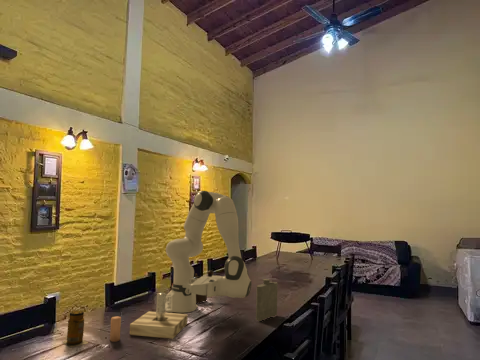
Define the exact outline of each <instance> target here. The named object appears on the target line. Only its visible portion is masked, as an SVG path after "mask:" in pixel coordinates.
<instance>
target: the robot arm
mask: <svg viewBox="0 0 480 360" xmlns="http://www.w3.org/2000/svg"><path fill="white" fill-rule="evenodd" d="M193 197H194V198H193V204H192V205H191V207H190V210H189V212H188V214H187V217H186V219H185V222H184V224H183V229H184V231H185V234H184V237H183V238H175V239H173V240H170V241H168V243H167V244H166V245H165V253H166V256H167V257H168V258H169V259H170V261H171V263H172V267H173V283H171V290H170V291H169V292H168V293H166V304H165V312H166V313H176V314H186V313H190V312H194V311H196V309H197V308H198V307H199V306H198V304H196V294H198V295H207V298H212V297H228V298H233V299H237V298H238V299H242V298H243V299H244V298H247V297H248V296H249V294H250V293H251V290H252V289H251V288H252V280H251V279H250V277H249V270H248V268H247V266H246V263H245V262H244V260H243V258H242V254H241V250H240V248H241V247H240V242H239V241H240V240H239V238H240V237H239V235H240V234H239V228H240V227H239V217H238V212H237V208H236V206H235V202H234V200H233V199H232V198H231V197H230V196H227V195H224V194H223V193H222V194H221V193H217V192H212V191H207V190H199V191H197V192H196V194H195V195H194V196H193ZM211 214H214V215H215V222H216V226H217V230H218V232H219V235H220V236H221V238H222V239H223V242H224V243H225V246H226V249H227V255H228V256H227V257H228V258H227V259H226V260H225V263H224V267H223V268H224V275H223V276H221V275H214V274H213V275H212V277H208V275H207V276H206V275H201V276H199V277H200V278H197V279H195V278H194V277H195V269H194V267H193V266H192V265H191V263H190V258H194V257H196V256H199V255H200V254H201V253H202V252H203V249H204V244H203V242H202V236H203V232H204V230H205V227H206V225H207V222H208V220H209V217H210V215H211Z"/></svg>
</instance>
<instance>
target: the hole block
mask: <svg viewBox="0 0 480 360" xmlns="http://www.w3.org/2000/svg"><path fill="white" fill-rule="evenodd" d="M188 317H189V315H188V313H187V314H186V313H177V312H165V321H156V311H150V310H148V311H147V312H146V313H144V314H142V315H141V316H140V317H138V318H137V319H135V320H134V321H132V322H131V323H129V335H130V336H142V337H151V338H160V339H161V338H163V339H175V338H176V337H177V335H179V333H181V331H182V330H183V329H184V328H185V327H186V326H187V325H188Z"/></svg>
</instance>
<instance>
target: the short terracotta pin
mask: <svg viewBox="0 0 480 360" xmlns="http://www.w3.org/2000/svg"><path fill="white" fill-rule="evenodd" d="M121 325H122V316H112V317H111V318H110V332H109V333H110V334H109V341H110V342H113V343H114V342H115V343H116V342H118V341H120V340H121V328H122V326H121Z"/></svg>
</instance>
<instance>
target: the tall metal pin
mask: <svg viewBox="0 0 480 360" xmlns="http://www.w3.org/2000/svg"><path fill="white" fill-rule="evenodd" d="M166 295H167V293H166V292H157V294H156V308H155V309H156V310H155V312H156V321H165V313H166V310H165V304H166Z"/></svg>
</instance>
